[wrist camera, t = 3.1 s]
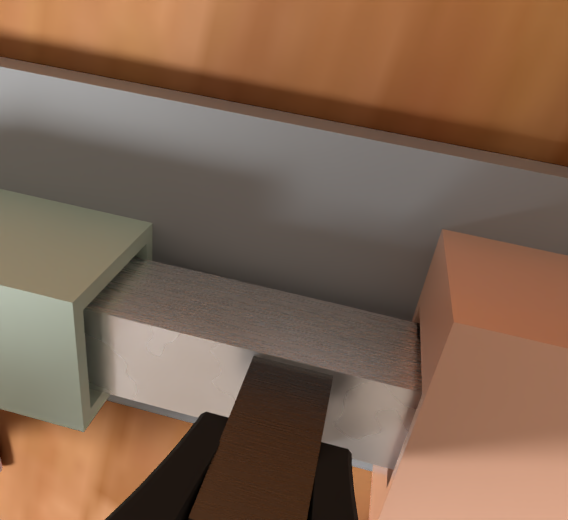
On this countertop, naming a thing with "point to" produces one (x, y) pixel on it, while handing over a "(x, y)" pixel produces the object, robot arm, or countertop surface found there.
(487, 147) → the countertop surface
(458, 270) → the socket block
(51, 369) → the outer sleeve
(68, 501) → the countertop surface
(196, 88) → the countertop surface
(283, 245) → the base board
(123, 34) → the countertop surface
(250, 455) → the sliding bolt
